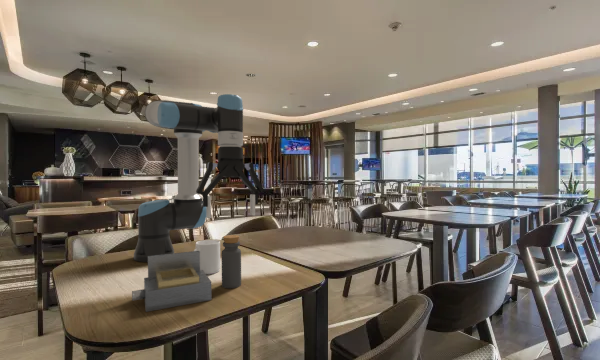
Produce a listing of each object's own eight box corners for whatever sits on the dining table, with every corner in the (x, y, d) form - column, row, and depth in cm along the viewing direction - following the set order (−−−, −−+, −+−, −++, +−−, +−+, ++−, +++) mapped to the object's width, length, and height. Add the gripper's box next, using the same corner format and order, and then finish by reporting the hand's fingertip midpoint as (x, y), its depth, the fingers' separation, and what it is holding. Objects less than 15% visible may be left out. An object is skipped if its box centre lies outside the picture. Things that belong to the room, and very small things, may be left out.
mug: (198, 279, 104) (198, 247, 104) (181, 275, 108) (181, 244, 108) (225, 270, 114) (225, 241, 114) (208, 266, 118) (208, 238, 118)
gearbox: (132, 297, 88) (131, 257, 88) (202, 286, 97) (202, 250, 97) (132, 314, 78) (131, 269, 78) (211, 300, 87) (211, 259, 86)
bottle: (234, 280, 102) (234, 233, 102) (245, 285, 98) (244, 236, 98) (218, 285, 98) (217, 236, 98) (228, 290, 94) (228, 239, 94)
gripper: (189, 143, 88) (190, 220, 89) (273, 147, 100) (274, 215, 100) (185, 146, 95) (186, 217, 95) (264, 149, 107) (265, 212, 107)
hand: (231, 216), depth 98 cm, fingers open, 13 cm apart
